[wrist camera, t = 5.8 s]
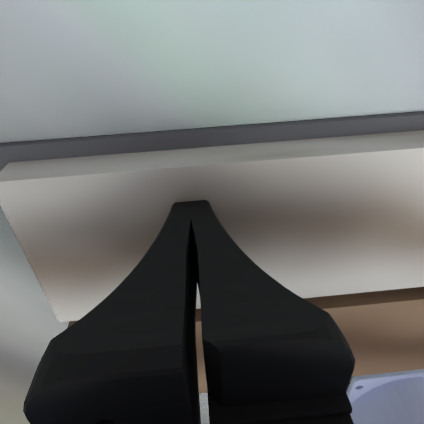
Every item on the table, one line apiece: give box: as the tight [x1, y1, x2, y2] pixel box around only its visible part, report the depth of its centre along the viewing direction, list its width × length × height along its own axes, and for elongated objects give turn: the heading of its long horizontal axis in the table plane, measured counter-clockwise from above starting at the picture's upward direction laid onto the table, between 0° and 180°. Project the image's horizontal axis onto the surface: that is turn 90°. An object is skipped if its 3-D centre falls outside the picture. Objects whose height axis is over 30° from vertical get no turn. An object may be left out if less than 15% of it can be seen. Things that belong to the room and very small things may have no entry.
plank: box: [0, 130, 424, 322], centre depth 13 cm, size 7×22×2 cm, turn 93°
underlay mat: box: [0, 112, 424, 171], centre depth 16 cm, size 15×23×1 cm, turn 93°
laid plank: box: [68, 287, 424, 393], centre depth 18 cm, size 6×22×2 cm, turn 93°
